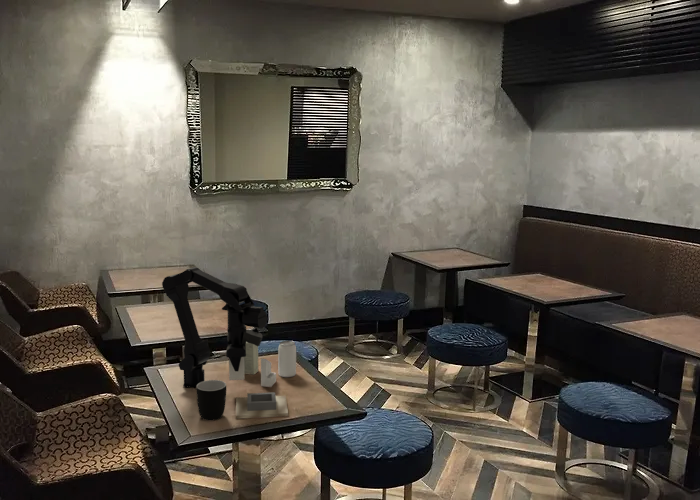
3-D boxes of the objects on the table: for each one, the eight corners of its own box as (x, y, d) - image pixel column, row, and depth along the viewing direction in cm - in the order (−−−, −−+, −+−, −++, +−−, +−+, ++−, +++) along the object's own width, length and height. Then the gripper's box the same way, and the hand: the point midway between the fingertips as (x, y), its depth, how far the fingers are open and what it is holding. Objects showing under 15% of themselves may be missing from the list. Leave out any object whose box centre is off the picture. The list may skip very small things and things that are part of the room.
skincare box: (258, 371, 231) (258, 339, 229) (253, 375, 226) (253, 343, 224) (243, 369, 232) (243, 337, 230) (238, 373, 228) (237, 341, 226)
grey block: (229, 380, 206) (228, 354, 204) (229, 375, 210) (229, 350, 208) (244, 379, 207) (244, 353, 205) (244, 375, 211) (244, 349, 209)
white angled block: (256, 383, 212) (260, 358, 215) (265, 388, 221) (269, 364, 224) (266, 384, 211) (271, 359, 214) (274, 389, 220) (278, 364, 223)
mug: (230, 419, 189) (229, 387, 187) (200, 424, 185) (200, 392, 183) (219, 404, 200) (219, 374, 198) (191, 409, 195) (190, 379, 194)
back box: (247, 410, 193) (247, 403, 193) (247, 400, 201) (247, 393, 200) (276, 409, 195) (276, 402, 194) (275, 399, 202) (275, 392, 202)
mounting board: (235, 418, 190) (235, 415, 190) (236, 400, 203) (236, 397, 203) (288, 416, 192) (288, 413, 192) (285, 398, 206) (285, 395, 206)
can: (299, 373, 229) (299, 342, 227) (288, 379, 223) (288, 347, 221) (285, 370, 232) (285, 339, 230) (274, 375, 227) (274, 343, 225)
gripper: (261, 331, 197) (261, 378, 200) (260, 316, 216) (260, 359, 218) (226, 332, 196) (226, 379, 198) (227, 316, 214) (228, 360, 216)
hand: (236, 369), depth 208 cm, fingers closed on grey block, 4 cm apart
